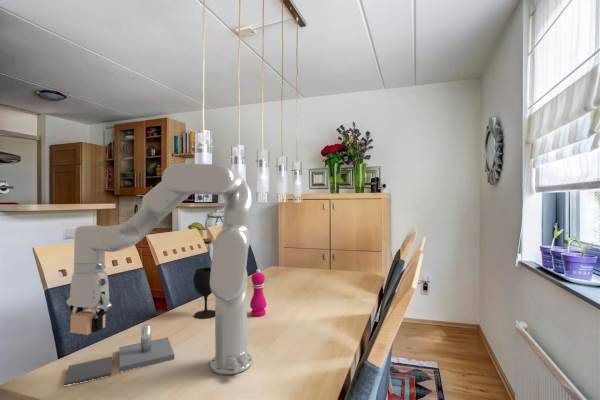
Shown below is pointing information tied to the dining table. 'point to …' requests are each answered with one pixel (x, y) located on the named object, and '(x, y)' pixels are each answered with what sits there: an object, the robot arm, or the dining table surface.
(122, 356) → the stand
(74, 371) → the pad
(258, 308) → the pepper mill
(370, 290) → the dining table surface
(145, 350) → the post
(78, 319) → the tan slotted box
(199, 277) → the wine glass
